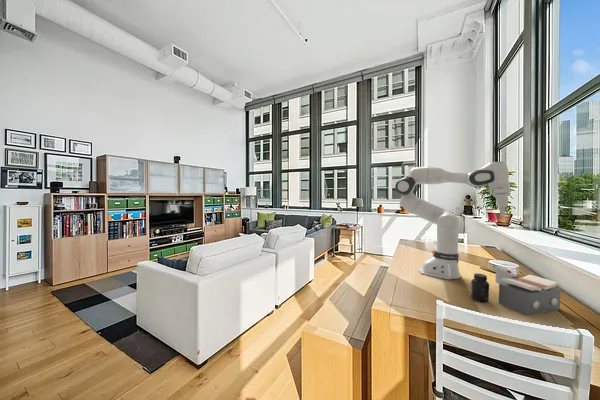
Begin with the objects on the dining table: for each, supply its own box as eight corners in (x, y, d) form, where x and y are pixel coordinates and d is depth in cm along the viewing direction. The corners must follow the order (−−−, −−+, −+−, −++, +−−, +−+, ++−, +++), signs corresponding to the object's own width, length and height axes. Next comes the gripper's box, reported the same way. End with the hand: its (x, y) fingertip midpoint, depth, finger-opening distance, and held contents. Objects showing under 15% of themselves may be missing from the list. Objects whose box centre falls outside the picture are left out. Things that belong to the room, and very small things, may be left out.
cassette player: (517, 293, 117) (518, 274, 116) (511, 293, 117) (512, 273, 117) (501, 282, 132) (501, 265, 131) (495, 281, 132) (496, 264, 132)
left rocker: (527, 291, 96) (528, 285, 96) (501, 282, 106) (502, 277, 106) (540, 292, 98) (541, 287, 98) (513, 283, 108) (514, 278, 108)
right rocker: (545, 291, 99) (545, 286, 99) (518, 282, 109) (517, 278, 108) (558, 286, 101) (557, 281, 101) (530, 278, 111) (529, 274, 110)
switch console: (528, 315, 95) (529, 294, 95) (498, 303, 106) (499, 283, 106) (561, 309, 100) (562, 289, 100) (529, 298, 111) (529, 279, 111)
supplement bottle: (467, 296, 113) (467, 272, 112) (480, 296, 113) (480, 272, 113) (479, 303, 106) (479, 277, 105) (492, 302, 106) (493, 277, 106)
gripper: (492, 190, 139) (494, 213, 138) (493, 190, 123) (496, 216, 122) (505, 189, 135) (508, 213, 134) (509, 189, 119) (512, 216, 118)
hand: (502, 214), depth 128 cm, fingers open, 8 cm apart
